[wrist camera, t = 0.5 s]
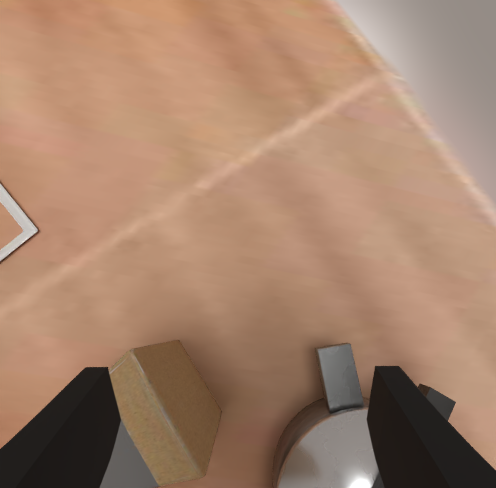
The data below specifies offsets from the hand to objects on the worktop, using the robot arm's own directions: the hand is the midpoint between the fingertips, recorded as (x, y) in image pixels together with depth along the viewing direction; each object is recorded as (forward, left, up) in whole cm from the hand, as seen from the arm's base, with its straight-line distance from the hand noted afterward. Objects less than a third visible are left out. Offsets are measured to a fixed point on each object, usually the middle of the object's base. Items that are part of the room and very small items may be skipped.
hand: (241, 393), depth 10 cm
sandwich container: (-5, +12, -27) cm, 30 cm away
